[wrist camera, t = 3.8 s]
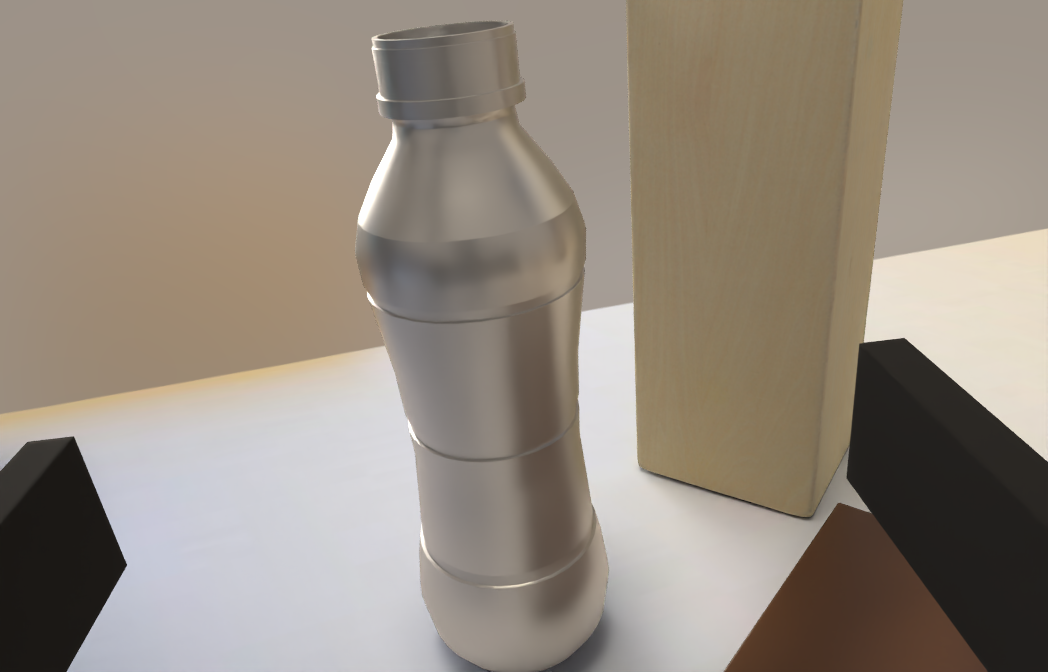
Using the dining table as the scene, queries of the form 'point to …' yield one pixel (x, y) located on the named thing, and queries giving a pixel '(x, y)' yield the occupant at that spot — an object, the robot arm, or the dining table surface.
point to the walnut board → (854, 611)
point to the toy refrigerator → (754, 234)
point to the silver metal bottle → (484, 347)
